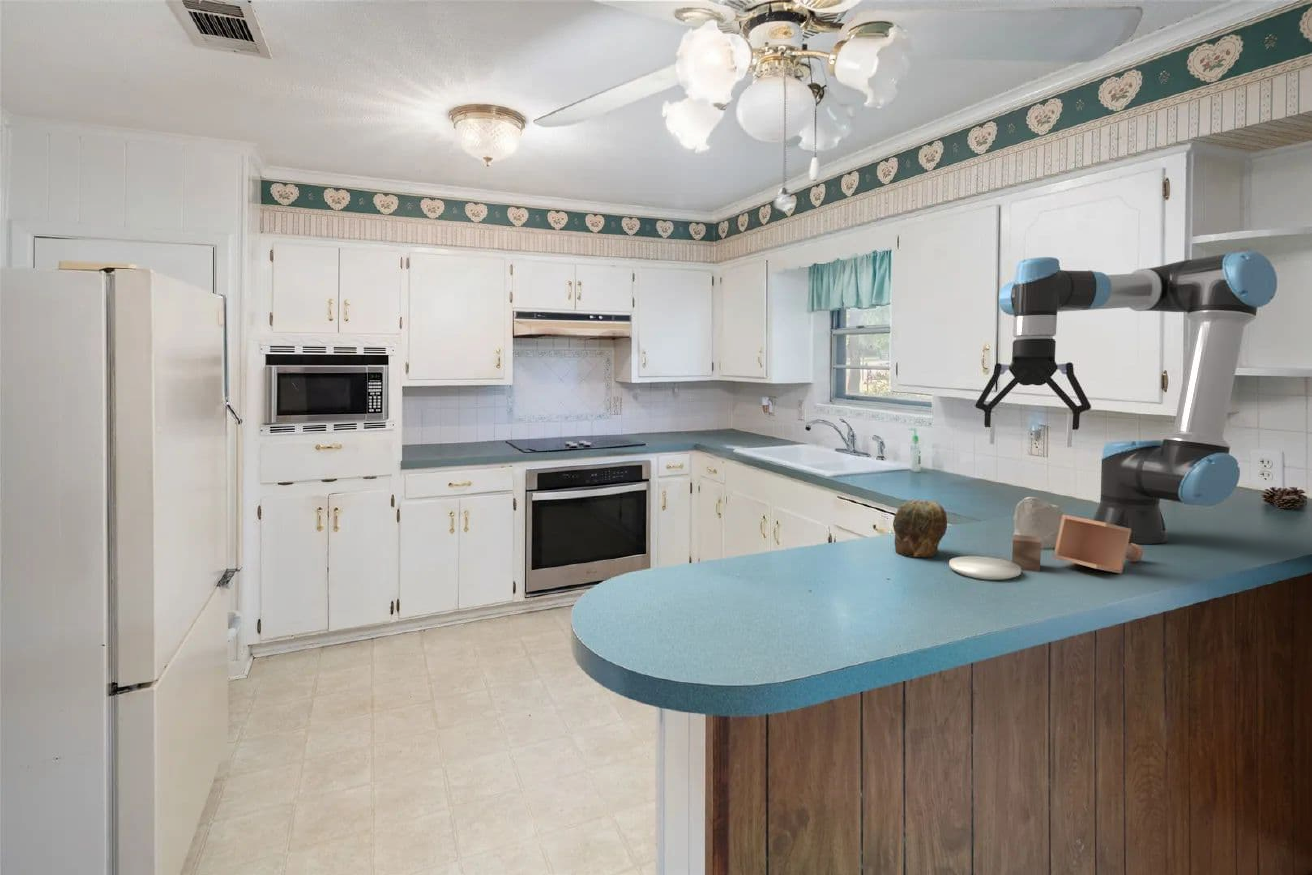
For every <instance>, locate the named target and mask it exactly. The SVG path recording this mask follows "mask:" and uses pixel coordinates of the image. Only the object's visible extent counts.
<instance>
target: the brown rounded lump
mask: <svg viewBox="0 0 1312 875" xmlns="http://www.w3.org/2000/svg"><path fill="white" fill-rule="evenodd" d="M947 519H948V518H947V513H946V511H945V508H944V507H943V506H942V505H941V504H940V503H938V502H937V501H932V500H930V501H929V500H924V501H921V500H919V499H916V500H914V499H913V500H908V501H905V502H903V503H901V505H900V506H899V507H898V509H897V512H895V515H894V517H893V520H892V521H893V523H892V527H893V532H894V550H895V551H894V552H895V553H897V554H899V555H902V556H904V557H909V558H933V557H934V556H936V554H937V553H938V549H939V548H938V547H939V544H940V542H941V540H942V538H943V537H944V536H945V535H946V531H947V529H948V520H947Z"/></svg>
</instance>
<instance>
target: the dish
mask: <svg viewBox="0 0 1312 875" xmlns="http://www.w3.org/2000/svg"><path fill="white" fill-rule="evenodd" d="M948 562H949V563H948V565H949V568H950V569H951V570H952V571H954V572H956V573H958V574H960V575H962V576H966V577H968V578H974V579H979V580H980V579H981V580H990V581H1002V580H1004V581H1005V580H1010V579H1013V578H1015V577H1019V576H1020V575H1021V573H1022V570H1021V567H1020V566H1019V565H1017V564H1015V563H1013V562H1012V561H1009V560H1006V559H1002V558H996V557H990V556H978V555H977V556H976V555H966V556H965V555H964V556H957V557H953V558H950V559H949V561H948Z"/></svg>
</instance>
